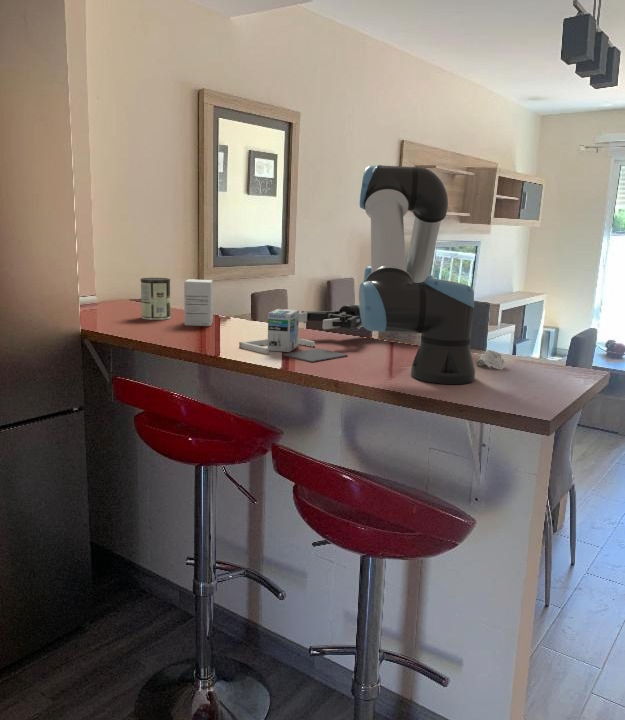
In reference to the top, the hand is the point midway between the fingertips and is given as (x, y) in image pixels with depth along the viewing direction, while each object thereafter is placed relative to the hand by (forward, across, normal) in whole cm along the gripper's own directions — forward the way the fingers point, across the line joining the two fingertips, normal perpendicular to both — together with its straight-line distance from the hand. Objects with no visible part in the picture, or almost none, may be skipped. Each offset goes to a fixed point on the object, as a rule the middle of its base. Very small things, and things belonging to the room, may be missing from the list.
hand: (306, 321), depth 188 cm
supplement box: (+4, +49, -7) cm, 50 cm away
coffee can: (+8, +68, -7) cm, 69 cm away
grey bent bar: (+9, +2, -7) cm, 12 cm away
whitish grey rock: (-20, -50, -7) cm, 54 cm away
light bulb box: (+9, 0, -7) cm, 12 cm away
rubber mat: (+9, -13, -7) cm, 18 cm away
